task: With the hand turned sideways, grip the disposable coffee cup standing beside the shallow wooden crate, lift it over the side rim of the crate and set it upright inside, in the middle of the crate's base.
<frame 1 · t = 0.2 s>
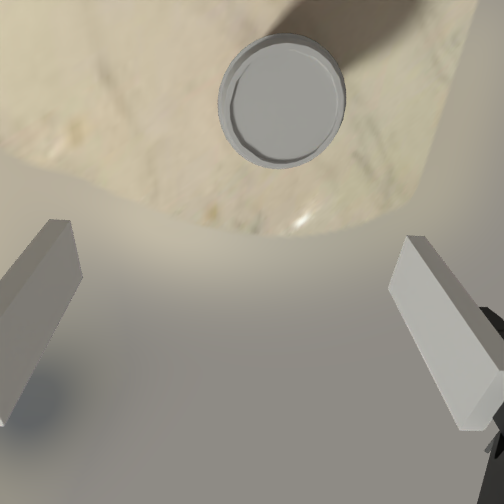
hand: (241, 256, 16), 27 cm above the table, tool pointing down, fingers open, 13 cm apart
disposable coffee cup: (268, 83, 38), on the table
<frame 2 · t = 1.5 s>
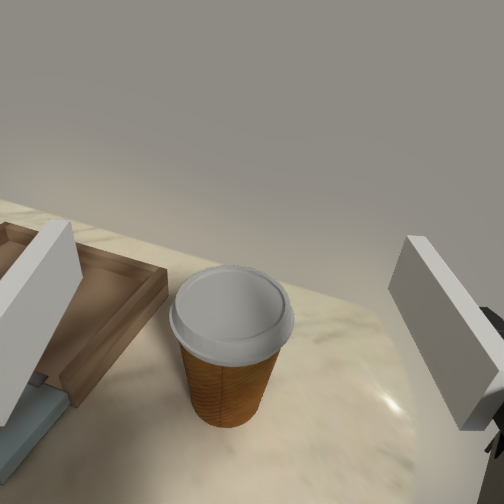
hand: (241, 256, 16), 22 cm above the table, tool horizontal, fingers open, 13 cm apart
disposable coffee cup: (225, 397, 36), on the table
shallow wooden crate: (38, 311, 42), on the table
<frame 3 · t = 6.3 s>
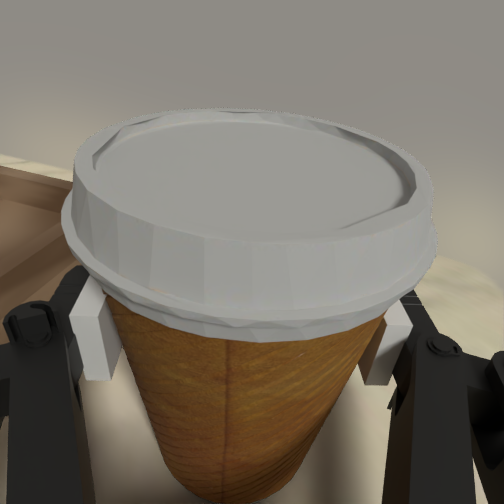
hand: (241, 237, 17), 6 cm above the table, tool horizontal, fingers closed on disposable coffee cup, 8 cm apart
disposable coffee cup: (233, 427, 17), on the table, touching gripper
when the fingers open (10 cm above the table, at t = 11.3 s): disposable coffee cup drops 1 cm, resting on shallow wooden crate.
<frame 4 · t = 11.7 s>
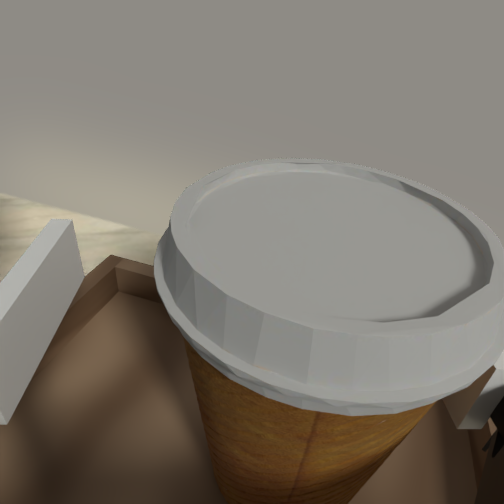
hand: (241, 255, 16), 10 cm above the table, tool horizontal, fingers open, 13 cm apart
disposable coffee cup: (282, 456, 17), point 2 cm above the table, touching shallow wooden crate, gripper
shallow wooden crate: (230, 466, 18), on the table
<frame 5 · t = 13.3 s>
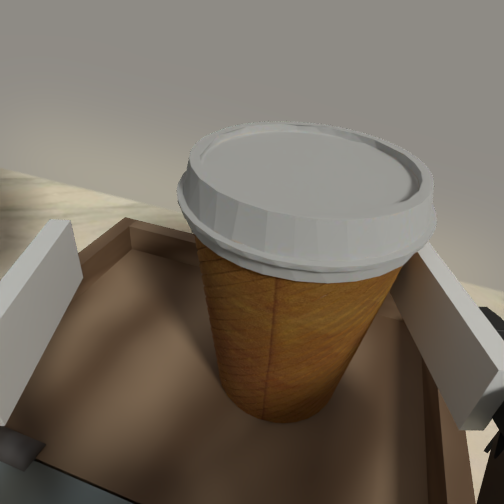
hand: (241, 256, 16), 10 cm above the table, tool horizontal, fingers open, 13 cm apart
disposable coffee cup: (276, 371, 21), point 2 cm above the table, touching shallow wooden crate, gripper
shallow wooden crate: (225, 380, 23), on the table
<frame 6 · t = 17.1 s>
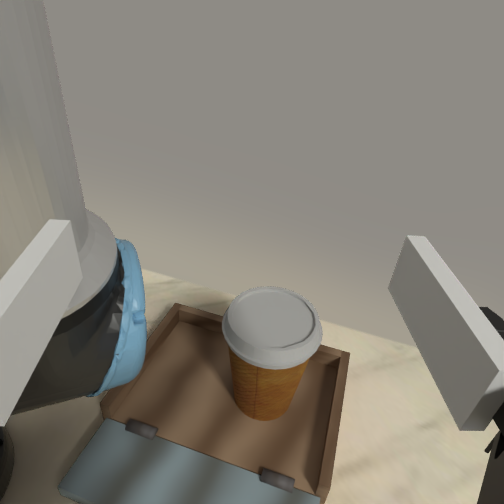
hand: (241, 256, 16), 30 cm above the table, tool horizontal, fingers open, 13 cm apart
disposable coffee cup: (262, 396, 43), point 2 cm above the table, touching shallow wooden crate
shallow wooden crate: (234, 398, 44), on the table
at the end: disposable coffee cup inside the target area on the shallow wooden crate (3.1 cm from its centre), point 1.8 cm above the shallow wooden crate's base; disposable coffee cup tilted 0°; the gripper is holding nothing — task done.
